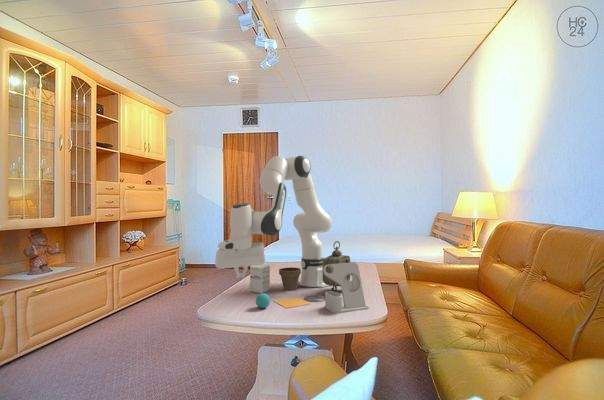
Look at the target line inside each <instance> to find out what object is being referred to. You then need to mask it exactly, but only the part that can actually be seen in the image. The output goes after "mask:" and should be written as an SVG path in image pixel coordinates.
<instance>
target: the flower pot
mask: <svg viewBox="0 0 604 400" xmlns="http://www.w3.org/2000/svg"><path fill="white" fill-rule="evenodd" d="M301 273H302V268H300V267H292V266H291V267H282V268H279V269H278V274H279V275H280V279H281V281H282V283H281V284H282V286H283V289H284V290H286V291H294V290H296V289H297V288H298V284H299V281H300V279H299V278H300V276H301Z"/></svg>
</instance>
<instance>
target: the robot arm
mask: <svg viewBox="0 0 604 400" xmlns="http://www.w3.org/2000/svg"><path fill="white" fill-rule="evenodd" d="M311 168H312V165H311V162H310V160H309V159H308V157H306V156H304V155H297V156H291V157H286V158H284V157H282V156H278V155H276V156H272V157H271V158H270V159H269V161H268V162H267V164H266V165H265V167H264V169H263V170H262V172H261V174H260V177H259V180H258V181H259V186H260V188H261V190H262V191H263V192H264V193H265V194H267V195H269V196H272V197H273V199H272V204H271V208H270V209H269V210H265V211H257V210H255V209H253V208H251V207H252V206H251V204H249V203H245V202H244V203H243V202H242V203H235V204H233V205H232V206H231V209H230V215H229V229H230V234H229V238H228V239H226V240H223V241H221V242H218V243H217V248H218V249H217V250H216V253H215V258H214V260H215V261H214V266H215V267H216V268H217V269H219V270H221V269H230V268H231V269H232V268H233V271H234V272H235V274H236V278H237V279H242V278H245V277H246V273H247V271H248V268H249V267H251V266H254V265H265V262H266V257H265V255H266V254H265V244H264V243H263V242H260V241H258V242H253V235H265V236H271V237H273V236H276V235H277V234H278V233H280V231H281V230H282V226H283V216H284V214H283V213H284V210H285V203H286V199H287V198H286V197H287V187H286V184H285V183H284V182H285V181H290V180H291V181H292V182H291V183H292V188H293V191H294V192H293V193H294V196H295V197H294V198H295V201H296V204H297V206H298V207H299V208H301V209H302V211H303V212H299V213H297V214H295V215H294V216H293V220H292V222H293V226H294V227H293V228H295V230H297V232H298V234H299V235H298V236H299V239H300V241H301V262H300V263H301V264H300V265H301V274H300V279H299V282H298V284H299V285H300V286H301V287H309V288H325V287H330V286H331V285H326V284H325V283H324V282H323V273H322V268H323V259H324V258H325V257H323V243H322V241H321V240H320V239H319V237H318V234H321V233H322V234H324V233H327V232H329V231H330V230H331V229H332V226H333V219H332V217H331V216H330V215H329V214H328V213H327V212H326V211H325V210H324V208H323V207H322V205H321V204H320V201H319V199H318V197H317V193H316V192H317V191H316V189H315V183H314V180H313V178H312V175H311ZM252 234H253V235H252ZM240 267H242V271H241V272H239V269H240Z"/></svg>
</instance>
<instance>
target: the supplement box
mask: <svg viewBox="0 0 604 400" xmlns="http://www.w3.org/2000/svg"><path fill="white" fill-rule="evenodd" d="M249 267H250V269H249V270H250V271H249V292H250V291H253V292H252V293H259V294H261V293H263V292H264V293H266V292H269V291H270V289H271V288H270V286H271V285H270V281H271V280H270V279H271V278H270V273H271V272H270V270H271V268H270V267H271V266H270V265H267V264H263V265H253V266H249ZM268 290H269V291H268Z"/></svg>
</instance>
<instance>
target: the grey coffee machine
mask: <svg viewBox="0 0 604 400" xmlns="http://www.w3.org/2000/svg"><path fill="white" fill-rule="evenodd" d="M326 267H330V268H331V272H330V273H327V272H326ZM359 268H360V267H359V265H358V263H357V262H353V261H352V262H351V261H350V263H338V264H328V265H325V266H324V268H323V273H324V275H325V276H327V277H328V278H330V279H331V280H333V281H335V282H336V283H338V284H339V285H340V286H341V287H340V286H339V287H340V288H341V289H340V290H341V294H340V293H339V292H338V293H336V291H335V290H334V291H332V290H327V291H325V294H324V295H325V296H324V297H325V300H324V303H325V305H324V308H325V309H326V310H328V311H330V312H332V313H333V314H340V313H341V314H342V313H346V312H355V310H357V311H362V310H361V309H364V310H369V309H370V305H368V304H367V303H366V300H365V294H364V290H363V284H362V278H361V275H360V269H359ZM348 275H350V277H351V280H350V281H348V280H347V278H346V277H347V276H348ZM368 308H369V309H368Z"/></svg>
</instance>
